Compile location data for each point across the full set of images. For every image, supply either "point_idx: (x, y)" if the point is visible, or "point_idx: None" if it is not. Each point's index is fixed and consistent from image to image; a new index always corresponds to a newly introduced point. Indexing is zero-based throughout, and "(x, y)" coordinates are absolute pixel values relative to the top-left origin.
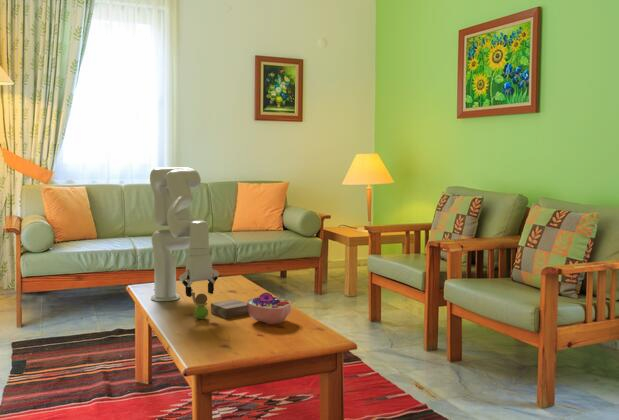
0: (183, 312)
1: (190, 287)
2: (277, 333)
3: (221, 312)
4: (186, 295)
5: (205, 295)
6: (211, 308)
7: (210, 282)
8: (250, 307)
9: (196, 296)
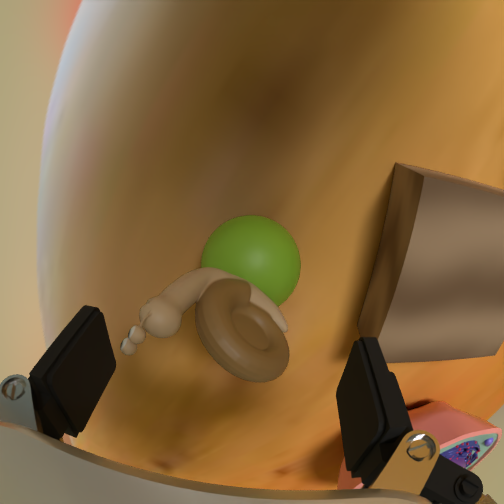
0: (260, 20)
1: (70, 432)
2: (322, 477)
3: (376, 299)
4: (86, 306)
5: (267, 380)
6: (406, 176)
7: (365, 475)
8: (350, 480)
9: (197, 321)
